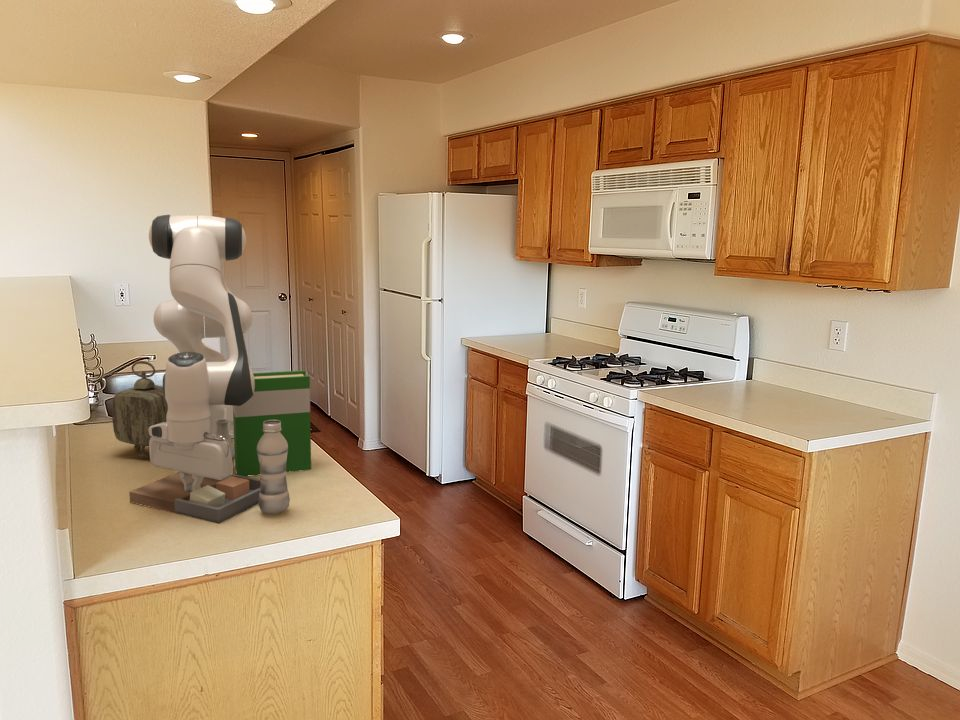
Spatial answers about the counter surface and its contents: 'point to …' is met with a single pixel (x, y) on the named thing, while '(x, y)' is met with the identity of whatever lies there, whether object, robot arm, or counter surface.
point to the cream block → (208, 496)
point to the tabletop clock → (138, 410)
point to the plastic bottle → (273, 469)
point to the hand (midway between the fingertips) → (192, 491)
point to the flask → (225, 433)
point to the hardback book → (274, 401)
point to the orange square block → (233, 487)
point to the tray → (225, 510)
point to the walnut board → (166, 492)
